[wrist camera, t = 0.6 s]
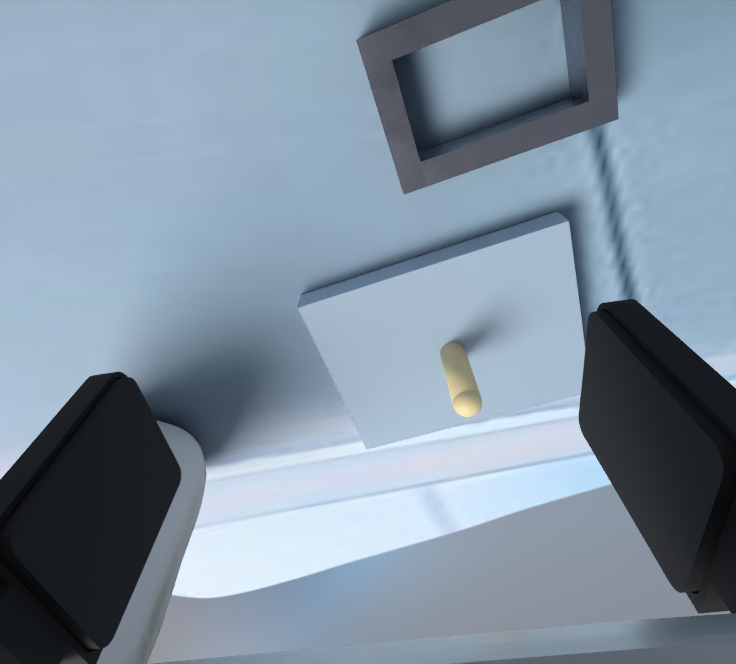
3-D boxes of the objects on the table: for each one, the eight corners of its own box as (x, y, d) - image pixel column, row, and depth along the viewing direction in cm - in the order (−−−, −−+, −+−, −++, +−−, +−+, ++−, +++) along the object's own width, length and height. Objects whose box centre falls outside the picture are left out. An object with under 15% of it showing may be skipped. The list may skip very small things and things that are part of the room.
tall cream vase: (134, 486, 43) (-155, 1030, 19) (81, 403, 38) (-409, 1007, 14) (236, 474, 42) (67, 1025, 18) (196, 387, 37) (-114, 1000, 13)
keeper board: (557, 211, 30) (618, 261, 23) (580, 375, 37) (632, 454, 29) (301, 294, 33) (282, 362, 26) (366, 432, 40) (366, 516, 32)
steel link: (584, -54, 23) (606, -65, 21) (598, 113, 27) (618, 119, 25) (357, 40, 25) (356, 40, 23) (401, 183, 29) (403, 194, 27)
